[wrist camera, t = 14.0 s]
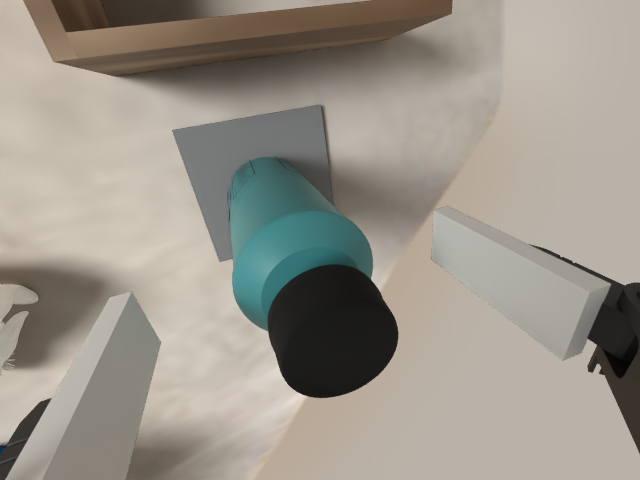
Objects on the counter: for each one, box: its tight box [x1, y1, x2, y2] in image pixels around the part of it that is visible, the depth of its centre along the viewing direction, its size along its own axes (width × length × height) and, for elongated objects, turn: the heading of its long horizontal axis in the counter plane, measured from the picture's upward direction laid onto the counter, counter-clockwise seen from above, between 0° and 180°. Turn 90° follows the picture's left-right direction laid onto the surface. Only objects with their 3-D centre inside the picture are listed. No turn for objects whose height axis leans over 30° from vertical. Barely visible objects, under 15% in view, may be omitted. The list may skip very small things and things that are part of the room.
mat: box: [172, 105, 334, 262], centre depth 26 cm, size 12×12×1 cm
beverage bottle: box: [227, 156, 398, 398], centre depth 17 cm, size 6×7×20 cm
